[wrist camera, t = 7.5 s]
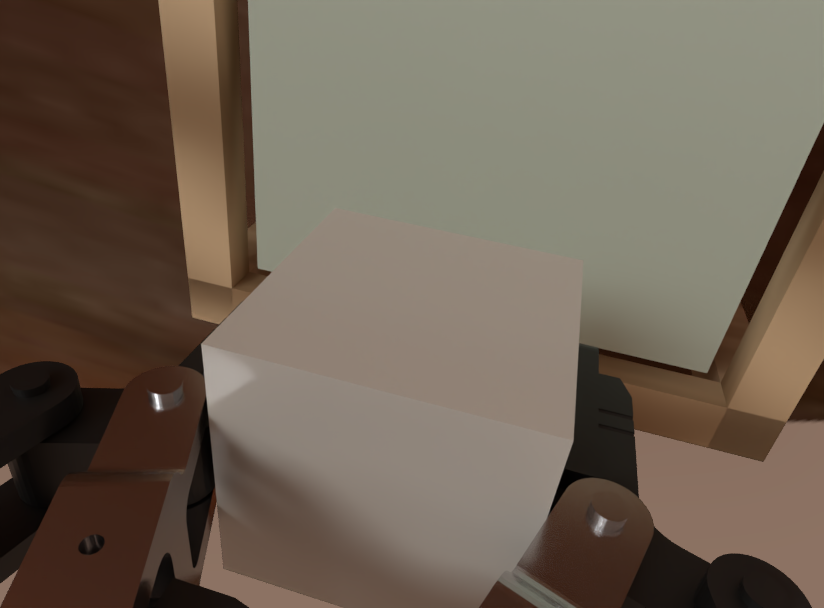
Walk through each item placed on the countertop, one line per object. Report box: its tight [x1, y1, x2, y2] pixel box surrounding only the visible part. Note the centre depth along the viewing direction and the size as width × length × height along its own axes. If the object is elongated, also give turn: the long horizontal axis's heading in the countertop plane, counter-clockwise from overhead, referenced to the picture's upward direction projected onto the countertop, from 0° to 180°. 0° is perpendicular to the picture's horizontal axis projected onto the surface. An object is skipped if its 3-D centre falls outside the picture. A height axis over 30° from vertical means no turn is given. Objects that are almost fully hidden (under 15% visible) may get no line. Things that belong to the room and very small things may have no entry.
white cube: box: [201, 208, 583, 608], centre depth 11 cm, size 5×5×5 cm
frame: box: [158, 0, 824, 462], centre depth 21 cm, size 16×19×13 cm
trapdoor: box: [248, 0, 824, 373], centre depth 16 cm, size 12×15×1 cm
